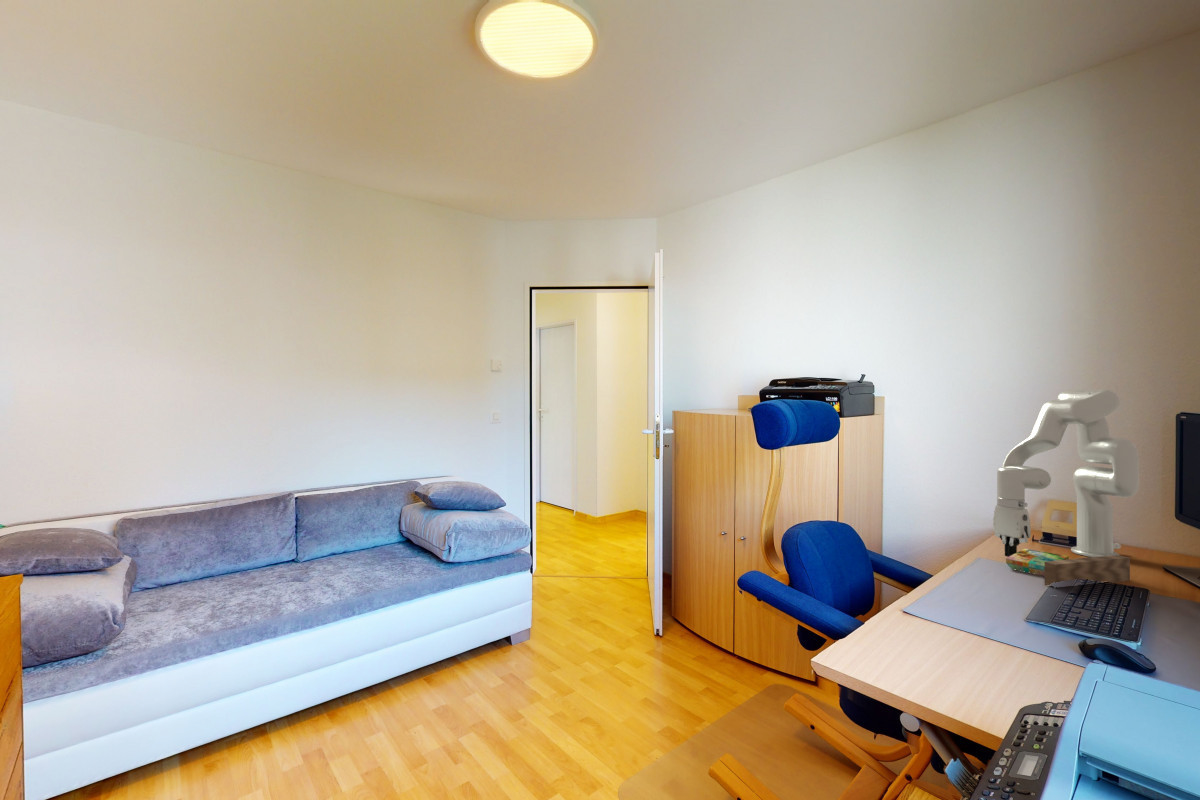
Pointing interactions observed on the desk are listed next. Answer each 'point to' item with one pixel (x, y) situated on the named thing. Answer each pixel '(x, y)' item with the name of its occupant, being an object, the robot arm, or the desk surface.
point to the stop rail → (1088, 569)
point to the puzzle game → (1032, 560)
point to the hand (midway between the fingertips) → (1010, 556)
